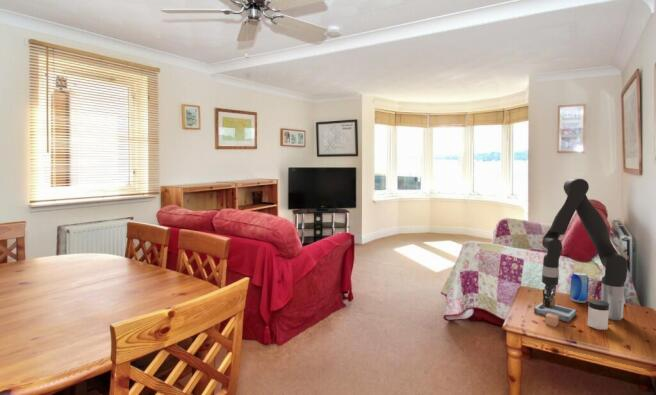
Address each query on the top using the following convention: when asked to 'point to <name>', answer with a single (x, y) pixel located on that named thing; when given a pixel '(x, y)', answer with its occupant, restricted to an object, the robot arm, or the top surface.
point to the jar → (598, 314)
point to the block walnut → (552, 303)
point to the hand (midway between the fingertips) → (548, 305)
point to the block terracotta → (552, 319)
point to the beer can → (579, 287)
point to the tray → (556, 311)
